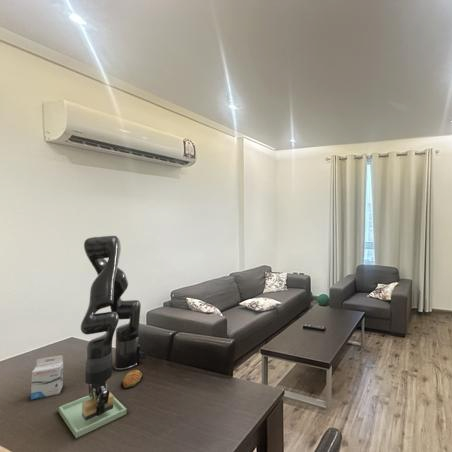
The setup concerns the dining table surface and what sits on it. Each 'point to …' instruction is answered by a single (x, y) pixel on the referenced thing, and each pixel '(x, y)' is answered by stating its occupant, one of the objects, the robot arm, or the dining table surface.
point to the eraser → (94, 407)
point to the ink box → (47, 377)
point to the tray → (81, 427)
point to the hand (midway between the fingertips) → (98, 411)
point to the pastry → (132, 378)
